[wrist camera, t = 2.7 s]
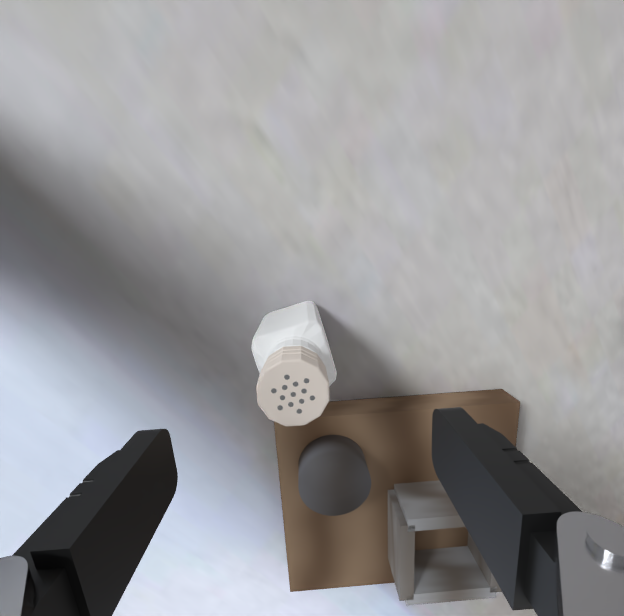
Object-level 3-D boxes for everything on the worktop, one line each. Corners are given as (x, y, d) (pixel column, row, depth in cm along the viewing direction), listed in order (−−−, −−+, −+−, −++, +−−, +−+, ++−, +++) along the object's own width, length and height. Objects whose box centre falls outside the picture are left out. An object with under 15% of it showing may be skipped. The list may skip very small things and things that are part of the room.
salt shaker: (261, 313, 22) (232, 366, 12) (314, 296, 21) (324, 337, 12) (279, 362, 22) (264, 446, 13) (329, 346, 22) (350, 420, 13)
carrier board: (291, 566, 27) (288, 638, 22) (276, 405, 23) (269, 449, 18) (487, 549, 27) (529, 616, 22) (502, 388, 24) (554, 427, 19)
